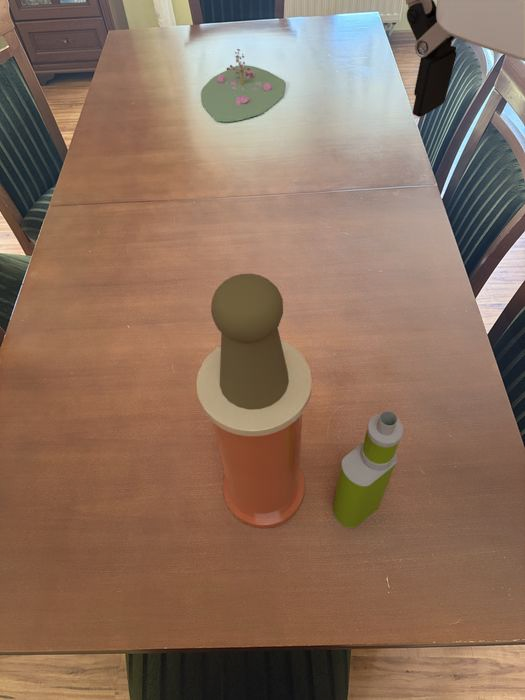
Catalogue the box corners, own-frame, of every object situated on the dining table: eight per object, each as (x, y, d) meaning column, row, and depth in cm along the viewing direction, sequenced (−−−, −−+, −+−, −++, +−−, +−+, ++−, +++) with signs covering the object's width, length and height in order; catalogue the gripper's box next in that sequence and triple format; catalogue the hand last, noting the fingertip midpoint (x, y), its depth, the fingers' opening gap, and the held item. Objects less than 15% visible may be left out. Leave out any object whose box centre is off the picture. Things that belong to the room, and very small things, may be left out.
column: (314, 518, 61) (326, 416, 42) (231, 537, 60) (205, 442, 41) (293, 443, 67) (295, 325, 48) (218, 460, 66) (189, 346, 47)
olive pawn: (271, 420, 42) (266, 335, 33) (206, 394, 43) (186, 307, 35) (299, 364, 45) (302, 274, 36) (238, 343, 47) (227, 252, 38)
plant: (284, 122, 115) (284, 81, 108) (194, 124, 116) (188, 83, 109) (285, 71, 131) (285, 32, 123) (205, 73, 132) (201, 34, 124)
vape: (385, 502, 61) (419, 420, 46) (348, 533, 59) (371, 458, 43) (363, 479, 63) (389, 392, 47) (327, 508, 61) (341, 428, 45)
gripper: (856, -226, 20) (629, 160, 34) (480, -239, 29) (418, 77, 42) (793, -201, 18) (572, 210, 31) (394, -223, 26) (357, 110, 39)
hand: (483, 133), depth 37 cm, fingers open, 9 cm apart
